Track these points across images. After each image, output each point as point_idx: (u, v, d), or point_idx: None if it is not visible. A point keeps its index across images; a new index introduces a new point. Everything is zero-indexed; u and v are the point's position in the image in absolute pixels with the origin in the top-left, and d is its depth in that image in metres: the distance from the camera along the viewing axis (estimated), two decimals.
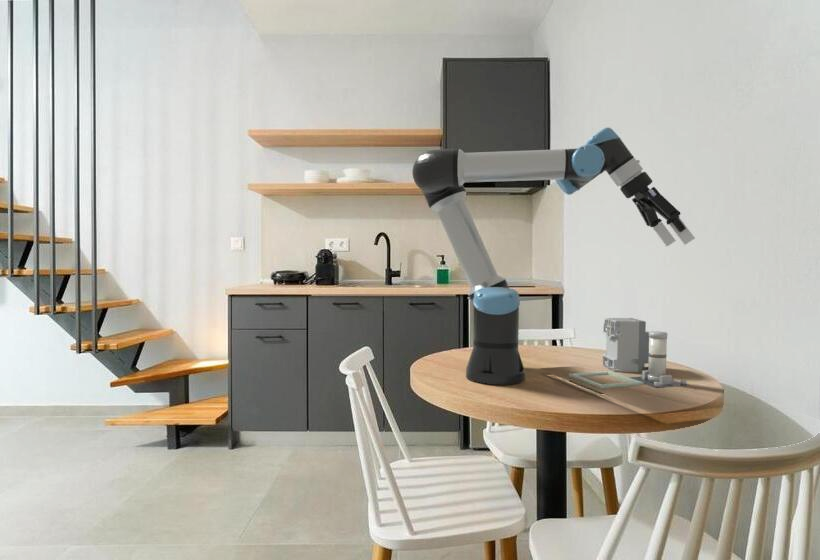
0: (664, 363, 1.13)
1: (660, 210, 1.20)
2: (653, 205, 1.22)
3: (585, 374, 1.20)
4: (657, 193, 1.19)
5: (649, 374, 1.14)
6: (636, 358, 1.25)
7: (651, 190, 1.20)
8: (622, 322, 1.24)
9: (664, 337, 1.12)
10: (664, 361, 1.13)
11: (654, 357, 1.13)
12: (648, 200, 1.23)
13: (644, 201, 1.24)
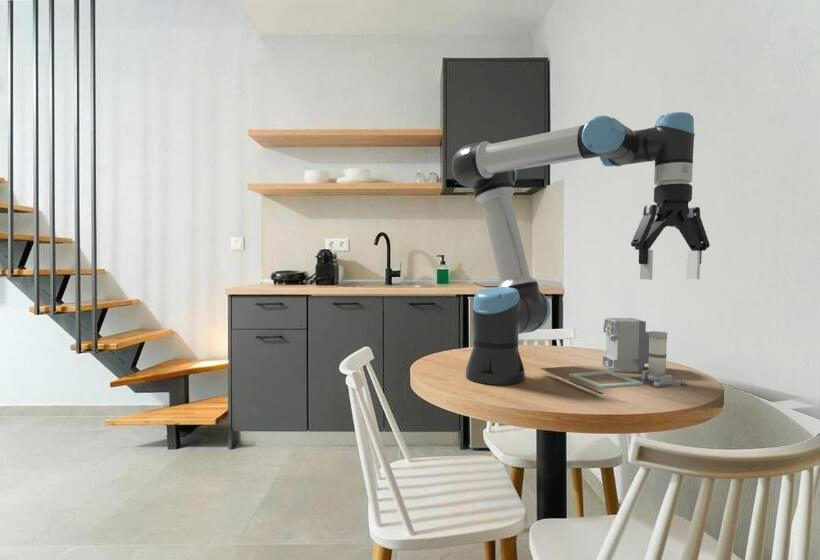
0: (664, 363, 1.13)
1: (648, 232, 1.05)
2: (654, 224, 1.05)
3: (585, 374, 1.20)
4: (650, 213, 1.03)
5: (649, 374, 1.14)
6: (636, 358, 1.25)
7: (648, 207, 1.03)
8: (622, 322, 1.24)
9: (664, 337, 1.12)
10: (664, 361, 1.13)
11: (654, 357, 1.13)
12: (657, 216, 1.05)
13: None
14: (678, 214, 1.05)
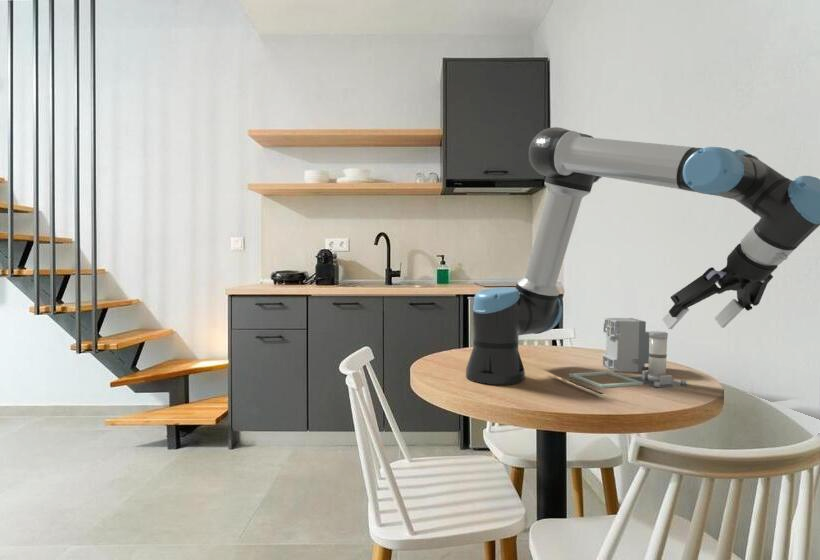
0: (664, 363, 1.13)
1: None
2: None
3: (585, 374, 1.20)
4: (708, 281, 0.91)
5: (649, 374, 1.14)
6: (636, 358, 1.25)
7: (711, 273, 0.91)
8: (622, 322, 1.24)
9: (664, 337, 1.12)
10: (664, 361, 1.13)
11: (654, 357, 1.13)
12: None
13: None
14: (742, 282, 0.93)
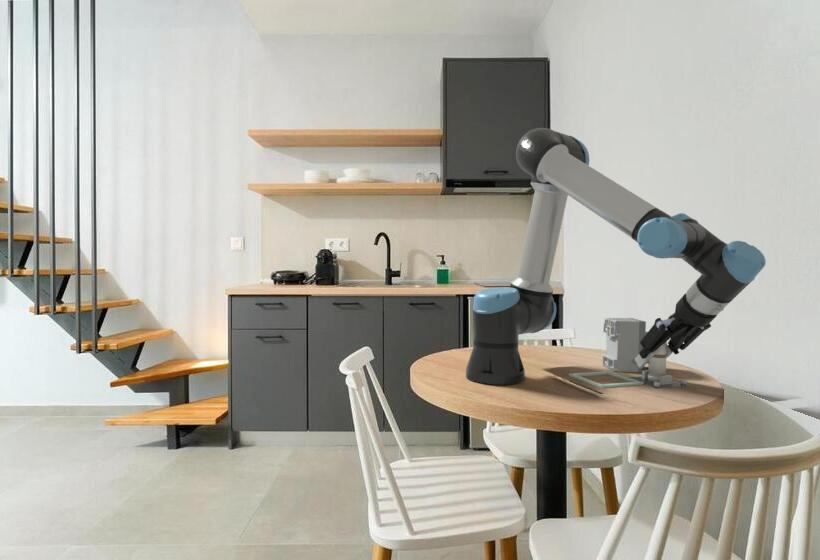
0: (664, 363, 1.13)
1: None
2: None
3: (585, 374, 1.20)
4: (658, 330, 1.06)
5: (649, 374, 1.14)
6: None
7: (658, 324, 1.05)
8: (622, 322, 1.24)
9: None
10: (664, 361, 1.13)
11: (654, 357, 1.13)
12: None
13: None
14: (690, 325, 1.05)
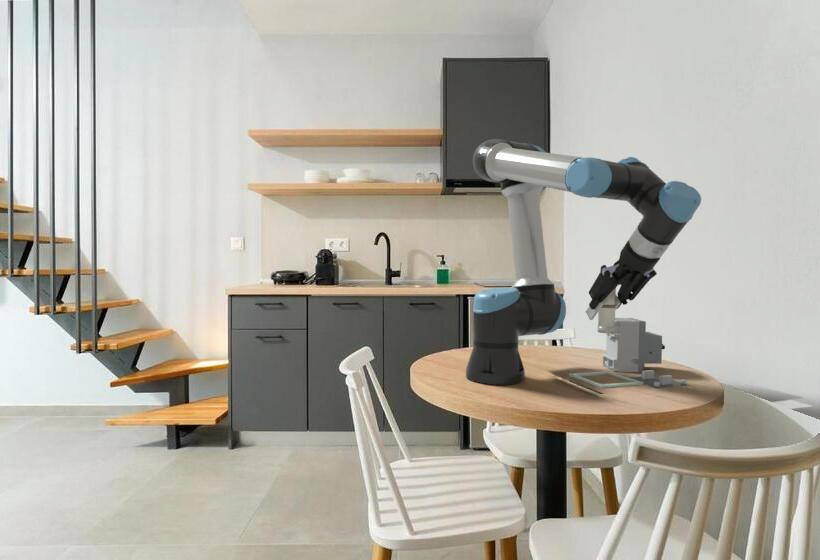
0: (613, 313, 1.13)
1: None
2: (611, 276, 1.09)
3: (585, 374, 1.20)
4: (604, 277, 1.06)
5: (598, 325, 1.15)
6: (636, 358, 1.25)
7: (603, 271, 1.06)
8: (622, 322, 1.24)
9: None
10: (613, 312, 1.13)
11: (602, 307, 1.14)
12: None
13: None
14: (635, 272, 1.06)
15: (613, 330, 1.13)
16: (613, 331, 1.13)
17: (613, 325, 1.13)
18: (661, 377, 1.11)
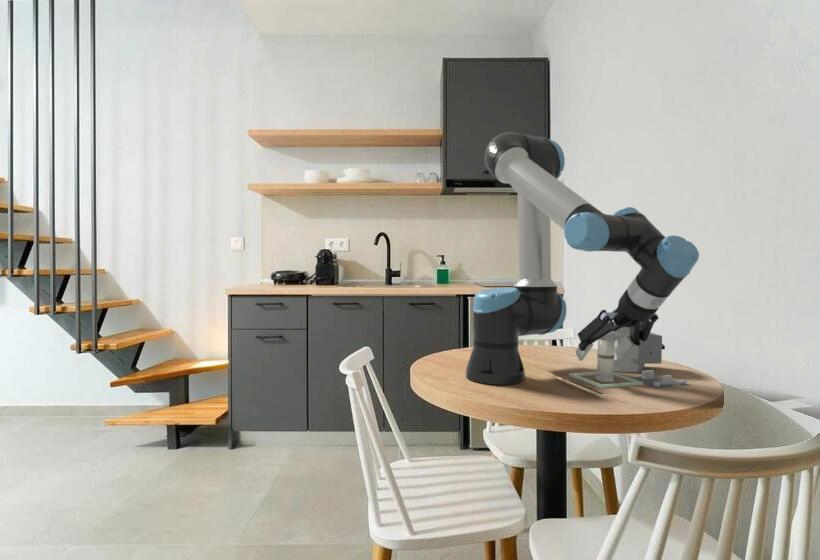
0: (612, 364, 1.14)
1: None
2: None
3: (585, 374, 1.20)
4: (601, 322, 1.06)
5: (597, 375, 1.15)
6: (636, 358, 1.25)
7: (603, 315, 1.05)
8: None
9: (612, 338, 1.13)
10: (612, 362, 1.14)
11: (601, 358, 1.14)
12: None
13: None
14: (633, 320, 1.06)
15: (612, 381, 1.14)
16: None
17: (612, 376, 1.14)
18: (661, 377, 1.11)
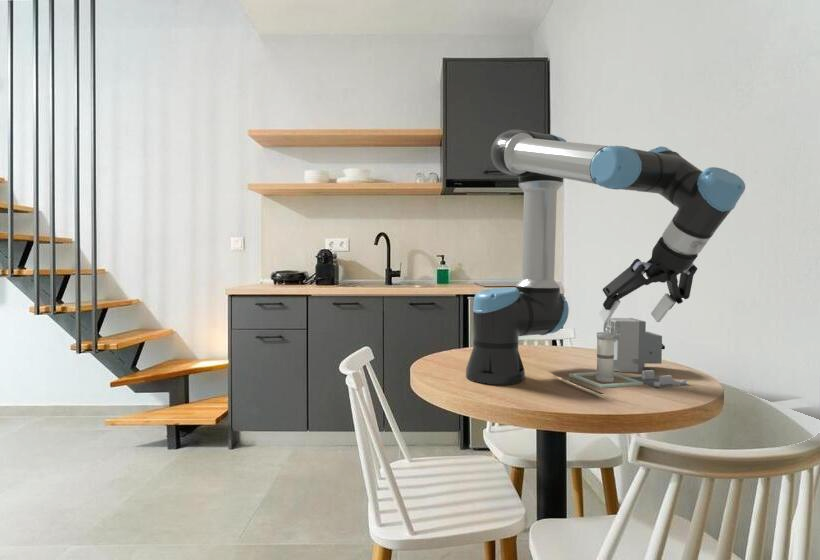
0: (611, 364, 1.14)
1: None
2: None
3: (585, 374, 1.20)
4: (635, 272, 0.95)
5: (597, 375, 1.15)
6: (636, 358, 1.25)
7: (637, 264, 0.94)
8: (622, 322, 1.24)
9: (611, 338, 1.13)
10: (611, 362, 1.14)
11: (601, 358, 1.14)
12: None
13: None
14: (668, 273, 0.96)
15: (612, 380, 1.14)
16: (612, 381, 1.14)
17: (612, 375, 1.14)
18: (661, 377, 1.11)
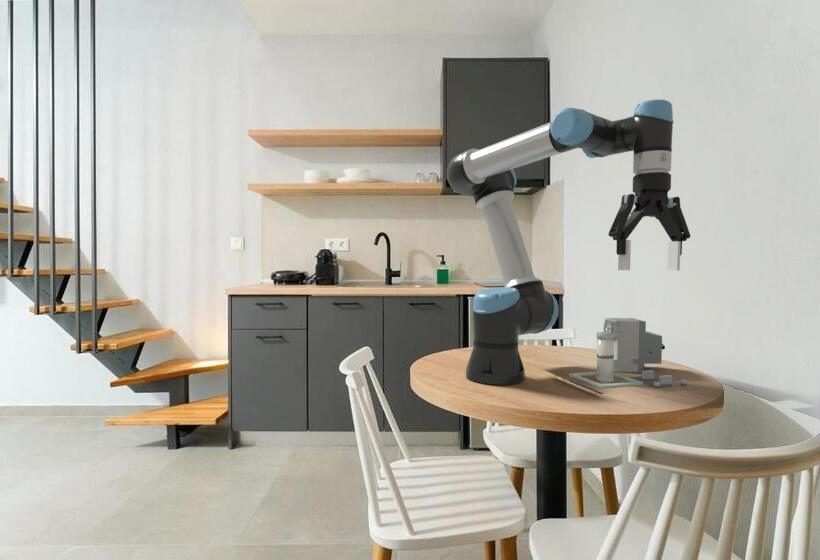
0: (611, 364, 1.14)
1: (626, 222, 1.02)
2: (632, 214, 1.03)
3: (585, 374, 1.20)
4: (627, 202, 1.01)
5: (597, 375, 1.15)
6: (636, 358, 1.25)
7: (626, 196, 1.01)
8: (622, 322, 1.24)
9: (610, 338, 1.13)
10: (611, 362, 1.14)
11: (601, 358, 1.14)
12: None
13: None
14: (657, 203, 1.02)
15: (612, 380, 1.14)
16: (612, 381, 1.14)
17: (612, 375, 1.14)
18: (661, 377, 1.11)
